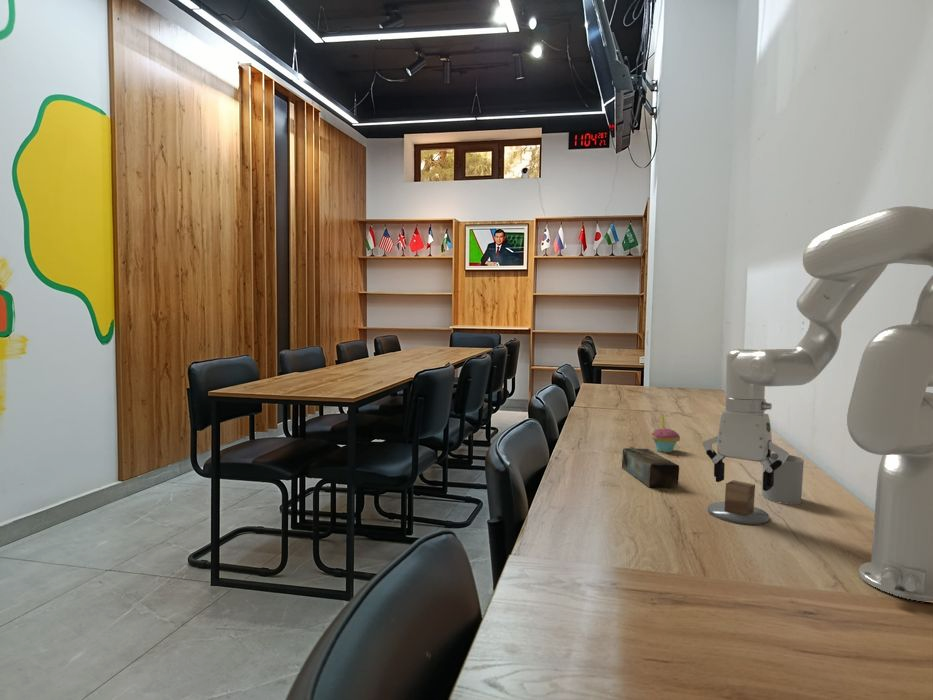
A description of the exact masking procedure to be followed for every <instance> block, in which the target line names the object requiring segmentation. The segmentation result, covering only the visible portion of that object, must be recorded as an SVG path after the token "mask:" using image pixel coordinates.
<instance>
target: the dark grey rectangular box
mask: <svg viewBox="0 0 933 700" xmlns="http://www.w3.org/2000/svg"><path fill="white" fill-rule="evenodd" d="M621 458H622V460H621V468H622V469H623V470H624V471H625V472H627V473H628V474H629V473H630V474H629V475H631V476H633V477H634V478H636V479H637V480H639V481H640V482H641V483H643V484H644V485H645V486H647V487H648V488H651V489H654V488H655V489H659V488H660V489H677V488H678V487H679V478H680V477H679V475H680V465H679V464H677V463H675V462H673V461H671V460H669V459H667V458H665V457H663V456H661V455H659V454H658V453H656V452H655V451H652V450H650V449H649V448H635V447H633V446H630V447H627V448H626V447H625V448H623V449H622V456H621Z"/></svg>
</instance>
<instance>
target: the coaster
mask: <svg viewBox="0 0 933 700" xmlns="http://www.w3.org/2000/svg"><path fill="white" fill-rule="evenodd" d="M724 509H725V501H716V502H711V503H709V504H708V506H707V512H708V513H709V514H710V515H711V516H713V517H715V518H717V519H720V520H722V519H723V521H727V522H729V523H734V524H739V523H740V524H741V525H748V524H758V525H763V524H762V523H764V524H766V523H768V522H769V520H770V515H769V513H768V512H766V511H765V510H763V509H761V508H759V507H756V506H754V512H752V513H751V514H749V515H747V516H743V515H739V514H735V513H731V512H727V511H724ZM767 521H768V522H767ZM765 522H766V523H765Z"/></svg>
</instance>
